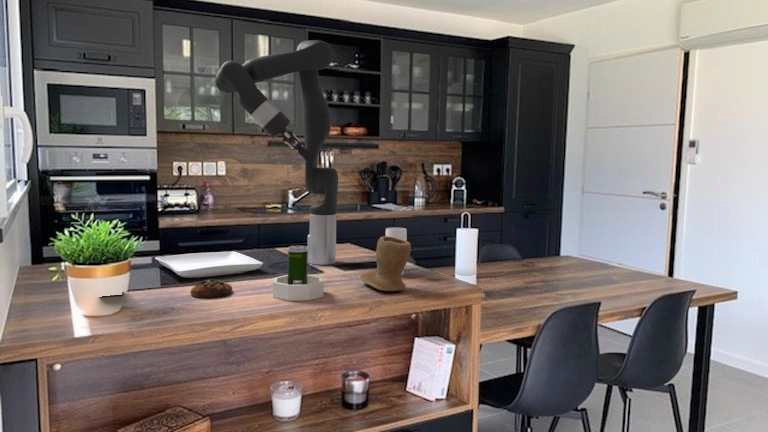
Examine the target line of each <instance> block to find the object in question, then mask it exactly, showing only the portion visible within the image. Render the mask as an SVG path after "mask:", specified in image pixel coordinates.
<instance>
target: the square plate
mask: <svg viewBox="0 0 768 432" xmlns="http://www.w3.org/2000/svg"><path fill="white" fill-rule="evenodd" d="M154 259H155V260H156V261H158V262H159V263H160V265H162V266H164V267H165V268H167V269H169V270H171V271H172V272H174V273H175V274H176V275H177V276H179V277H181V278H194V279H195V278H204V277H205V278H207V277H216V276H226V275H233V274H235V273H236V274H243V273H246V272H249V271H250V272H251V271H256V270H257V269H260V268H261V267H262V265H264V262H262V261H259V260H258V259H255V258H253V257H251V256H248V255H245V254H243V253H239V252H237V251H234V250H233V251H220V252H219V251H218V252H215V251H214V252H213V251H212V252H197V253H196V252H194V253H185V254H176V255H175V254H174V255H165V256H157V257H155V258H154Z"/></svg>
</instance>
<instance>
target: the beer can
mask: <svg viewBox="0 0 768 432" xmlns="http://www.w3.org/2000/svg"><path fill="white" fill-rule="evenodd" d="M308 263H309V262H308V250H307V245H290V246H288V249H287V275H288V284H289V285H303V284H307V274H308V265H309V264H308Z"/></svg>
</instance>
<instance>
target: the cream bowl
mask: <svg viewBox="0 0 768 432" xmlns="http://www.w3.org/2000/svg"><path fill="white" fill-rule="evenodd" d="M324 284H325V282H324V278H323V277H322V276H318V275H314V274H308V273H307V284H303V285H289V284H288V274H285V275H281V276H277V277H276V276H275V277H273V279H272V298H275V299H280V300H283V301H287V302H288V301H289V302H293V301H311V300H316V299H319V298H321V297H324V295H325V294H324Z"/></svg>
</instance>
